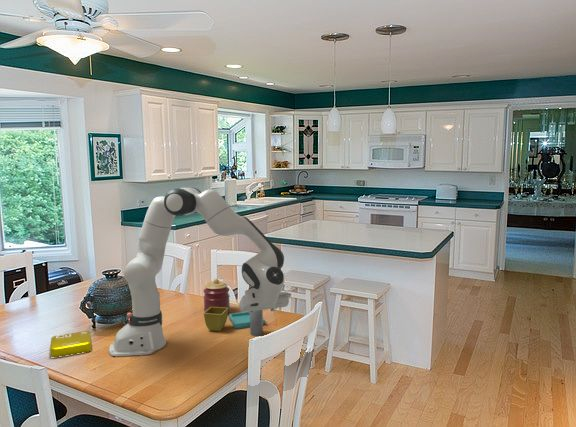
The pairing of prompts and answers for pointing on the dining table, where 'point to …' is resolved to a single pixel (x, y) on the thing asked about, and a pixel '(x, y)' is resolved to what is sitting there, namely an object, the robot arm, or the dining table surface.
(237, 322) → the tray
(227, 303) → the canister
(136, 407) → the dining table surface
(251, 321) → the dark grey cylinder
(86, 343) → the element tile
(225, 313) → the flower pot
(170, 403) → the dining table surface
